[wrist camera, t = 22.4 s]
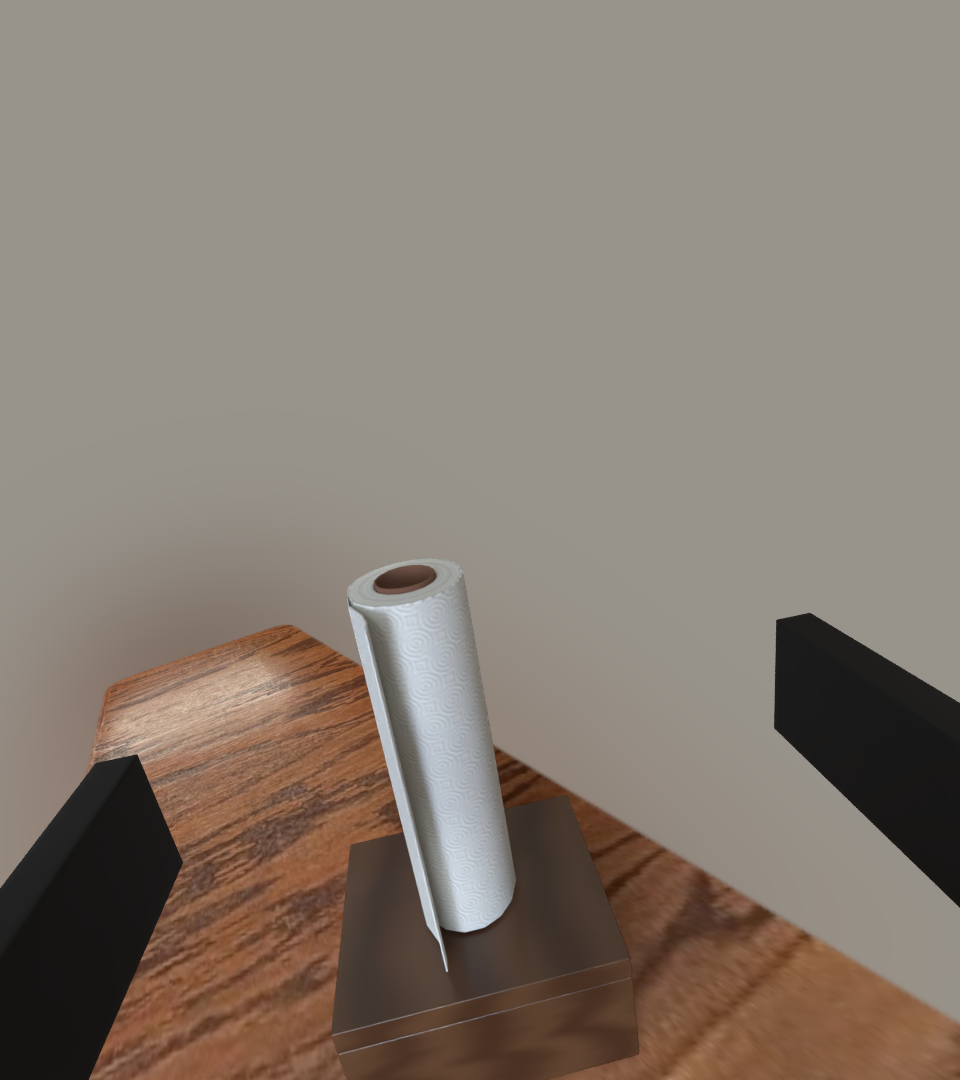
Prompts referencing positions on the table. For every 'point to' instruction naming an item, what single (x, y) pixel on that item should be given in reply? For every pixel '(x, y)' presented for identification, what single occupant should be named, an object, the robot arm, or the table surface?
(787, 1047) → the table surface
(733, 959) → the table surface
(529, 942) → the drawer box
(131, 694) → the table surface
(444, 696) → the paper towel roll
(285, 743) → the table surface
